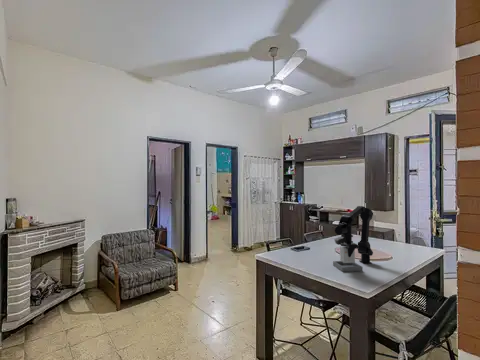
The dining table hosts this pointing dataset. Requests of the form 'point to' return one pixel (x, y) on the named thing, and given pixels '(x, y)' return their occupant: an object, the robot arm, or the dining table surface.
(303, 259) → the dining table surface
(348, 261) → the small box
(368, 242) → the robot arm
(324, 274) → the dining table surface
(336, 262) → the charcoal tray
